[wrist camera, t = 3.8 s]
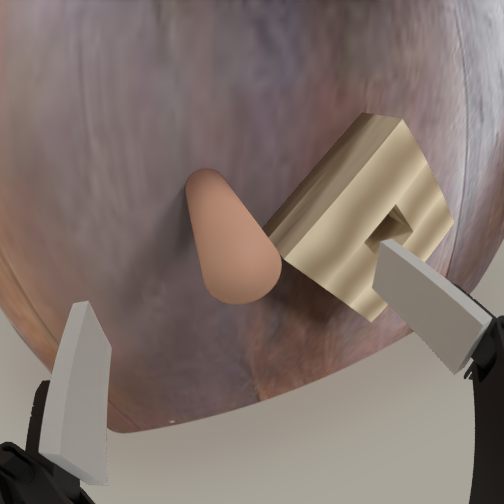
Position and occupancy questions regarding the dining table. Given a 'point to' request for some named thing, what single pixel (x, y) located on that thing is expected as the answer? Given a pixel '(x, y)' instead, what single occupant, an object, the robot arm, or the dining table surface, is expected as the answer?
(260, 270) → the pin
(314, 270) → the bore block
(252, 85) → the dining table surface
